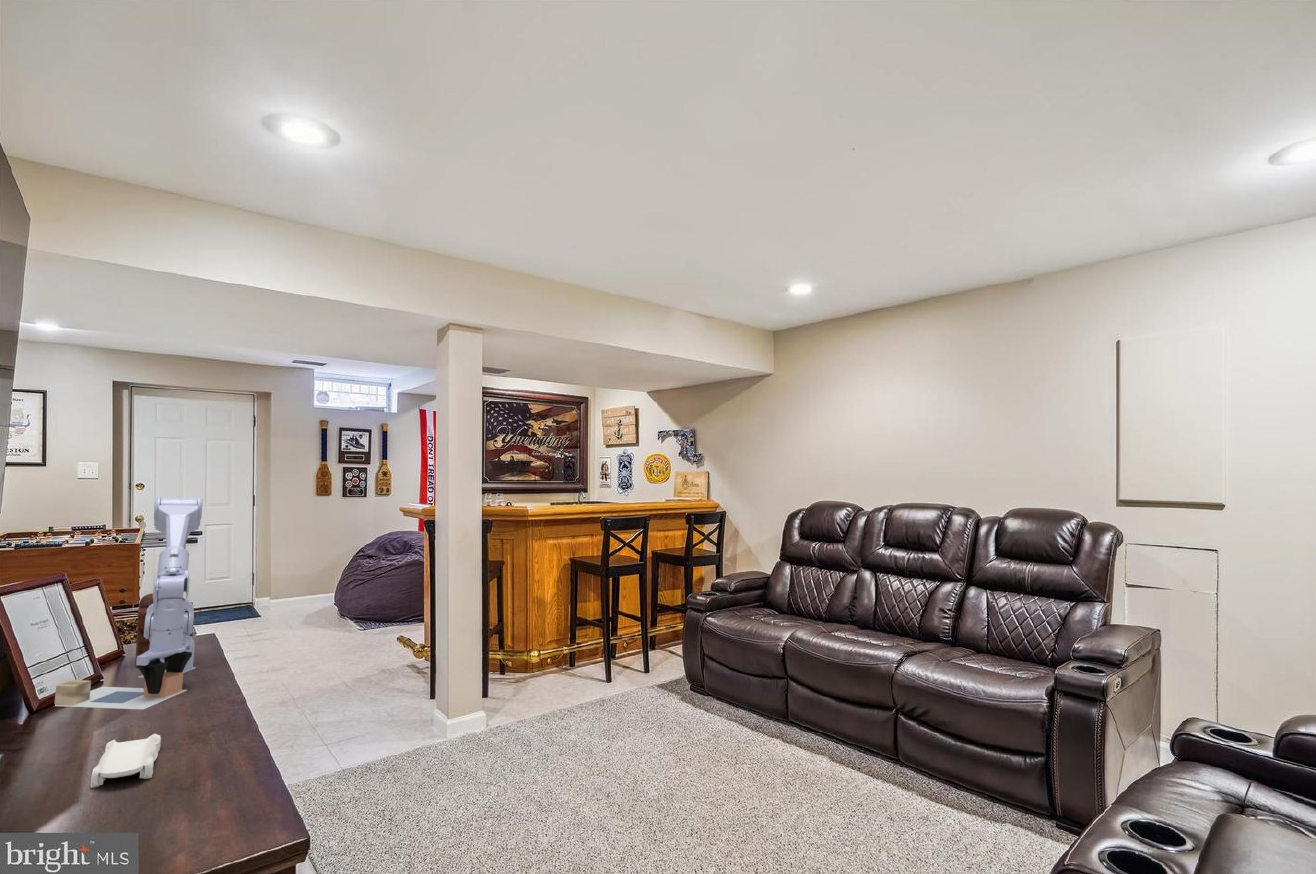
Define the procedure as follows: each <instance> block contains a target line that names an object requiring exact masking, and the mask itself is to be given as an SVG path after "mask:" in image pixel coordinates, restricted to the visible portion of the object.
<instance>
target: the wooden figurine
mask: <svg viewBox="0 0 1316 874" xmlns="http://www.w3.org/2000/svg"><path fill="white" fill-rule="evenodd" d="M153 603H154V601H153V592H152V593H148V594H147V593H146V594H145V595H144V596H142V597H141V599H140V600H139V603H138V610H137V624H136V625H137V629H136V632H137V633H136V641H135V642H136V643H135V644H136V645H135V663H136V662H137V656H139V655H142V654H143V653H145V652H147V651H148V650H149V648H150V642H149V639H150V635H149V639H146V638H145V637H144V626H145V617H146V613H147V609H148V607H149V606H150V605H151V604H153ZM135 667H136V668H138V665H136V664H135ZM138 669H139V668H138Z"/></svg>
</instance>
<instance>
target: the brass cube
mask: <svg viewBox="0 0 1316 874" xmlns="http://www.w3.org/2000/svg"><path fill="white" fill-rule="evenodd" d="M91 685H92V680H83V679H82V680H80V679H79V680H77V679H71V680H69V681H66V682H63V683H61V684H57V685H55V694H54V695H55V696H54V704H55V705H69V706H74V705H76V704H79V703H81V702H84V701H87V700H89V699H90V691H91V687H92V686H91Z"/></svg>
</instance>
